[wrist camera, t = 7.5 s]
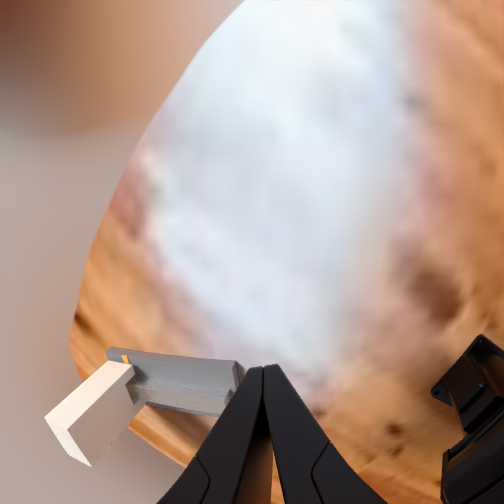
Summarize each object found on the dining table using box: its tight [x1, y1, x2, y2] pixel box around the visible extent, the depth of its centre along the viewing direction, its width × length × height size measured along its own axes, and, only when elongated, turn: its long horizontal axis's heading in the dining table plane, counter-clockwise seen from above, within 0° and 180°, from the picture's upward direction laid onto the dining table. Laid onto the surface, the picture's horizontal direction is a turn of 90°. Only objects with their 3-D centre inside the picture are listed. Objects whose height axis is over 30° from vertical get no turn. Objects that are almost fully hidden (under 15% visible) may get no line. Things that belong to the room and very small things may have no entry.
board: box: [106, 347, 239, 418], centre depth 25 cm, size 13×6×1 cm, turn 97°
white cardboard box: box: [44, 361, 146, 467], centre depth 21 cm, size 3×5×10 cm, turn 7°
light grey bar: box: [125, 375, 232, 414], centre depth 23 cm, size 12×2×2 cm, turn 97°
